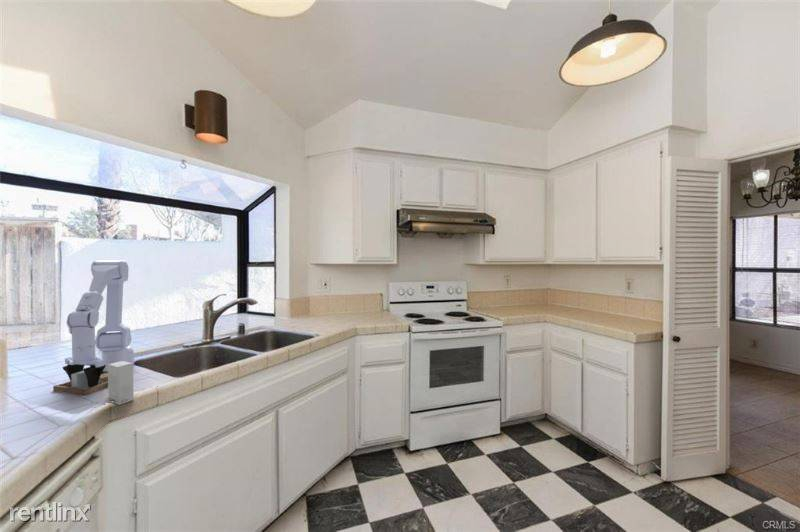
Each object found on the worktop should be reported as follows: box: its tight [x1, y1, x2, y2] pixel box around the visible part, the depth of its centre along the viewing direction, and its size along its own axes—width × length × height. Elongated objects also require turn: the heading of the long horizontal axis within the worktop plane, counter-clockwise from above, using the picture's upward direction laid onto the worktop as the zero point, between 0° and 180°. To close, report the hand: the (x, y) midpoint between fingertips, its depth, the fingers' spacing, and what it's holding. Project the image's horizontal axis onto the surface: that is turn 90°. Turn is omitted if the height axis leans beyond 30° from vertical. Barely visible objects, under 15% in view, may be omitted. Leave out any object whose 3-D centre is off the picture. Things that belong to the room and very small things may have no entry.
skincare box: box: [107, 361, 135, 406], centre depth 108 cm, size 6×4×12 cm
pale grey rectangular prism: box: [71, 371, 89, 389], centre depth 115 cm, size 6×2×7 cm, turn 166°
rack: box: [52, 371, 108, 396], centre depth 118 cm, size 15×14×3 cm
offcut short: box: [98, 373, 108, 384], centre depth 121 cm, size 3×5×2 cm, turn 61°
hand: (84, 386), depth 115 cm, fingers open, 7 cm apart
